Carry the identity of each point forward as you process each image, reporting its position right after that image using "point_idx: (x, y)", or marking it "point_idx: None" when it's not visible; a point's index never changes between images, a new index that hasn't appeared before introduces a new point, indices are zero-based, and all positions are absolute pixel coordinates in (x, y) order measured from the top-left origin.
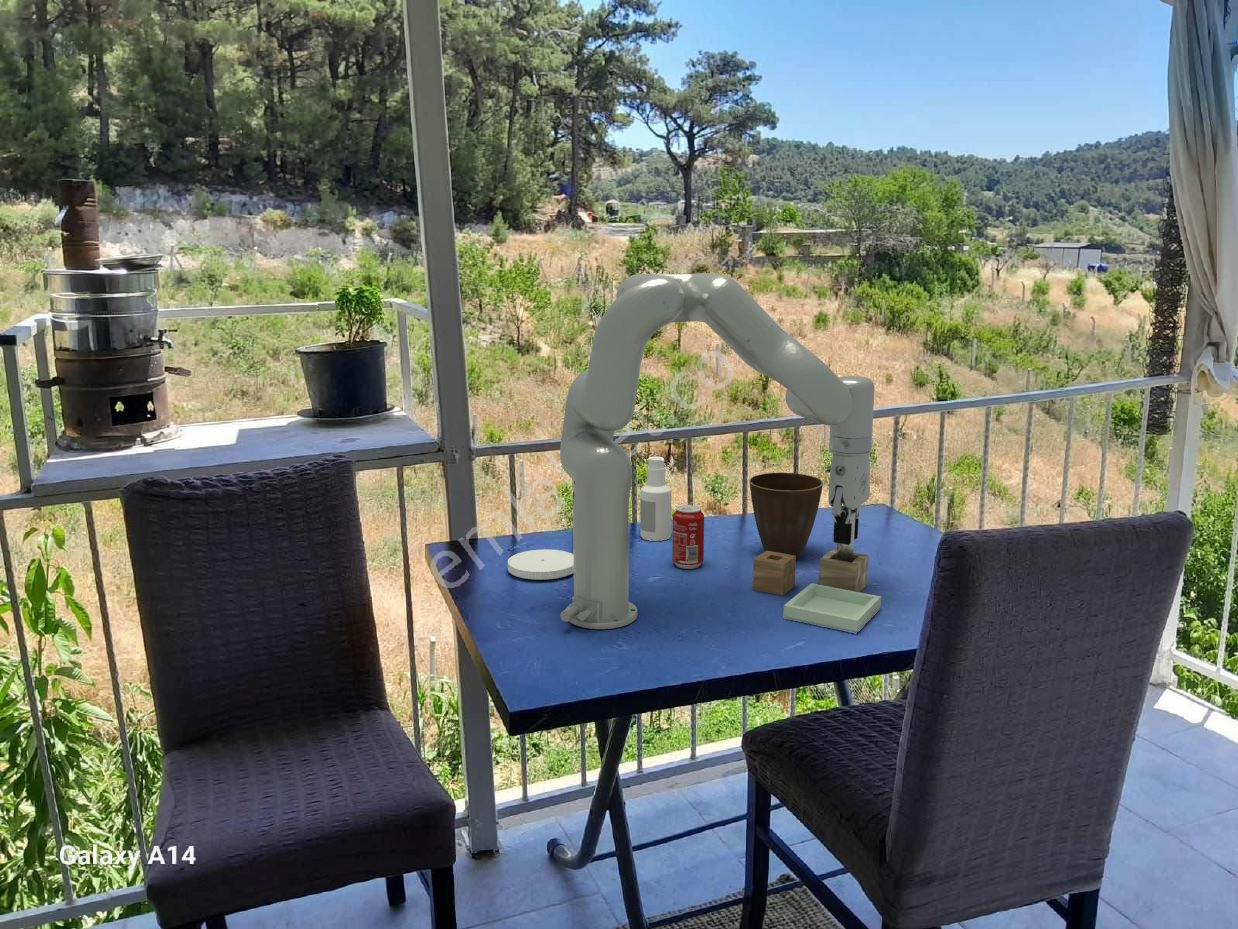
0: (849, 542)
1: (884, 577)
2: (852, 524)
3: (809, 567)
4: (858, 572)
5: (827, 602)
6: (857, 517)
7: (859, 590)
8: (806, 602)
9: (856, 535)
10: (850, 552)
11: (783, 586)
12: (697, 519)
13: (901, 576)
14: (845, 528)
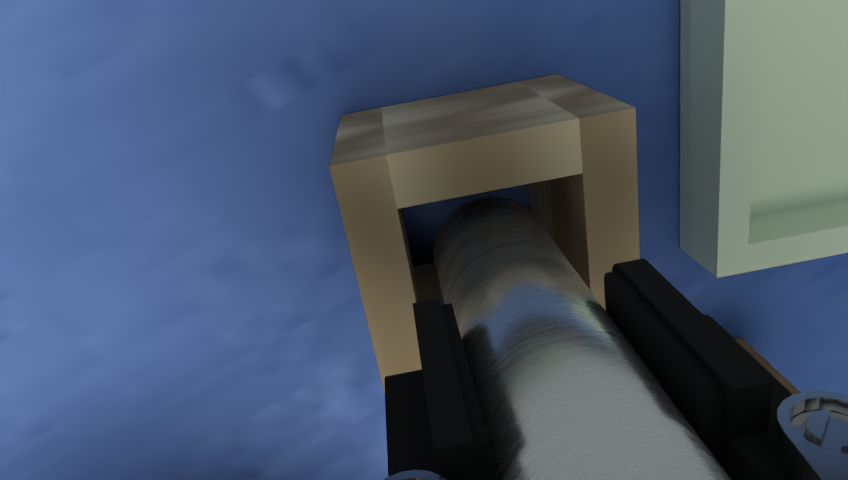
0: (650, 267)
1: (130, 103)
2: (641, 395)
3: (313, 452)
4: (549, 106)
5: (779, 119)
6: (428, 476)
7: (475, 91)
8: (825, 200)
9: (441, 317)
10: (538, 240)
11: (760, 363)
12: None
13: (18, 26)
14: (773, 387)
